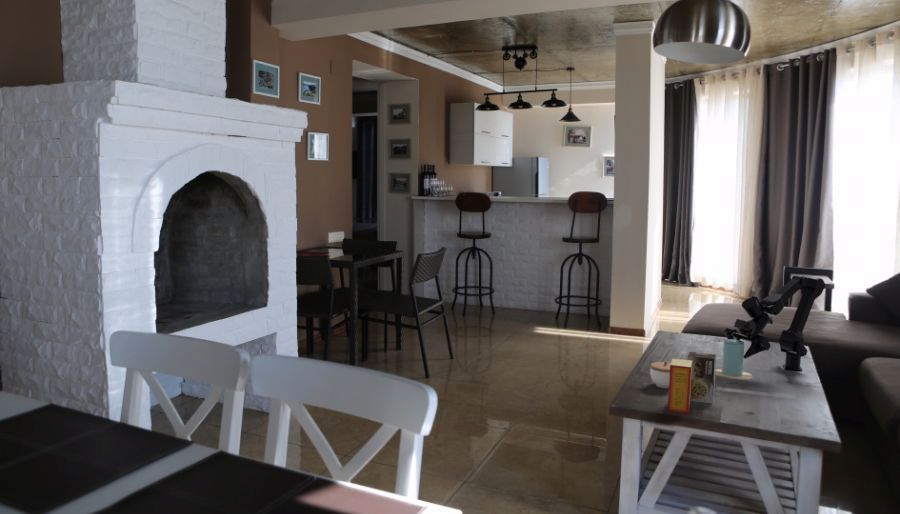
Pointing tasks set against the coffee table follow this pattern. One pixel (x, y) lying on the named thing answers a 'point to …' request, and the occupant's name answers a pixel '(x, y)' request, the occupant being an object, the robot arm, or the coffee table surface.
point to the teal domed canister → (733, 357)
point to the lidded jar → (660, 373)
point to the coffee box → (702, 377)
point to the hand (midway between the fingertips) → (734, 355)
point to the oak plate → (744, 376)
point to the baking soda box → (680, 385)
